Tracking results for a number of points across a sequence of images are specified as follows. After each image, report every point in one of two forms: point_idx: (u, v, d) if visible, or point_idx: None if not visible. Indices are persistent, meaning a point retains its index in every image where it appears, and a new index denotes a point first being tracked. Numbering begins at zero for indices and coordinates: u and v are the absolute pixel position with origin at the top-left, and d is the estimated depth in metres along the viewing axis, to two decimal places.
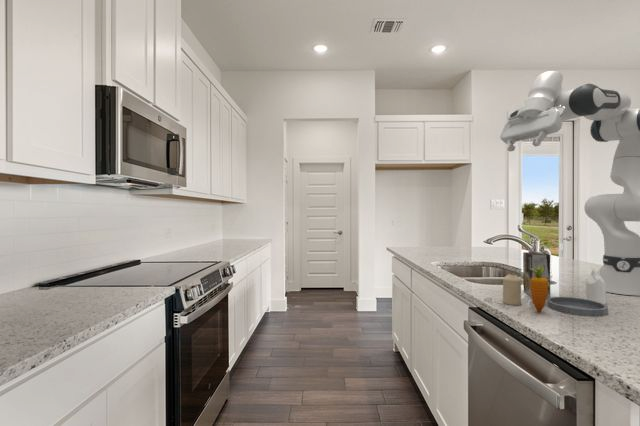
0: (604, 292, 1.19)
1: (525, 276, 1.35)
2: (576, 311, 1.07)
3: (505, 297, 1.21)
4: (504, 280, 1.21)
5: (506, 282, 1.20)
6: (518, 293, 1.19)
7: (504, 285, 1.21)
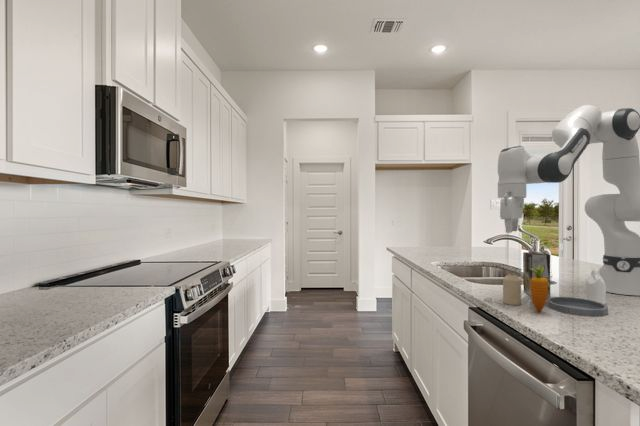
0: (604, 292, 1.19)
1: (525, 276, 1.35)
2: (576, 311, 1.07)
3: (505, 297, 1.21)
4: (504, 280, 1.21)
5: (506, 282, 1.20)
6: (518, 293, 1.19)
7: (504, 285, 1.21)
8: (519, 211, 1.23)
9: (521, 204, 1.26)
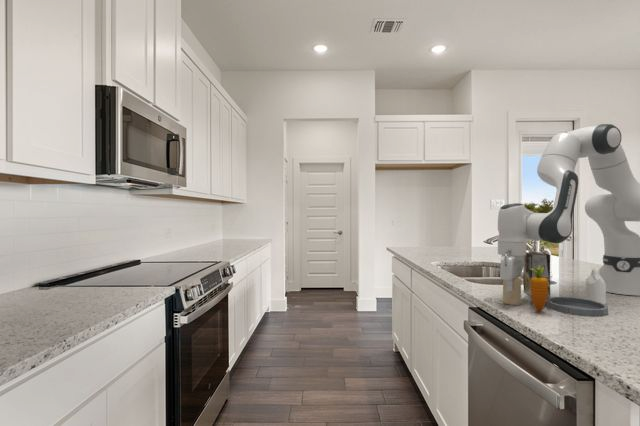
0: (604, 292, 1.19)
1: (525, 276, 1.35)
2: (576, 311, 1.07)
3: (505, 297, 1.21)
4: (504, 280, 1.21)
5: None
6: (518, 293, 1.19)
7: (504, 285, 1.21)
8: (519, 267, 1.23)
9: (521, 259, 1.26)
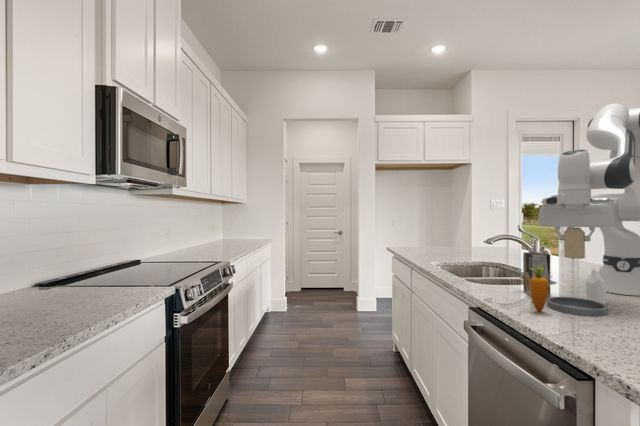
0: (604, 292, 1.19)
1: (525, 276, 1.35)
2: (576, 311, 1.07)
3: (582, 251, 1.11)
4: (580, 233, 1.11)
5: (583, 235, 1.12)
6: None
7: (580, 239, 1.11)
8: None
9: None
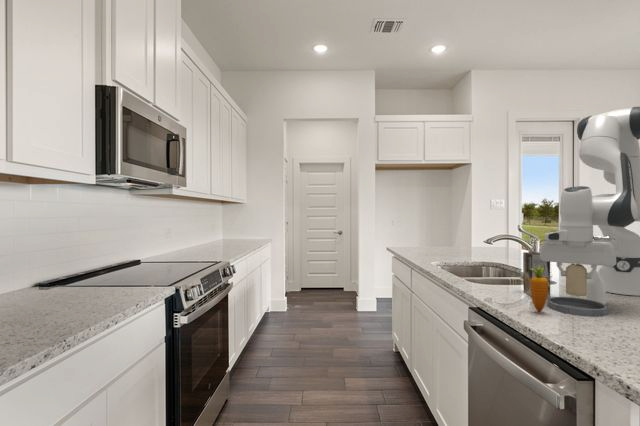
0: (604, 292, 1.19)
1: (525, 276, 1.35)
2: (576, 311, 1.07)
3: (584, 289, 1.11)
4: (582, 271, 1.11)
5: (585, 272, 1.11)
6: None
7: (582, 276, 1.11)
8: None
9: None
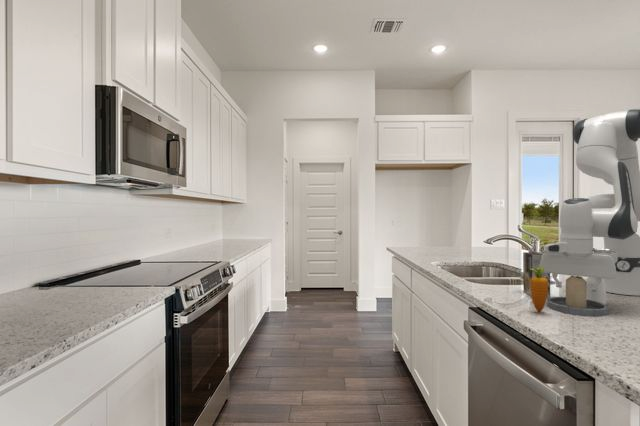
0: (604, 292, 1.19)
1: (525, 276, 1.35)
2: (576, 311, 1.07)
3: (584, 301, 1.11)
4: (582, 283, 1.11)
5: (585, 285, 1.11)
6: None
7: (582, 289, 1.11)
8: None
9: None
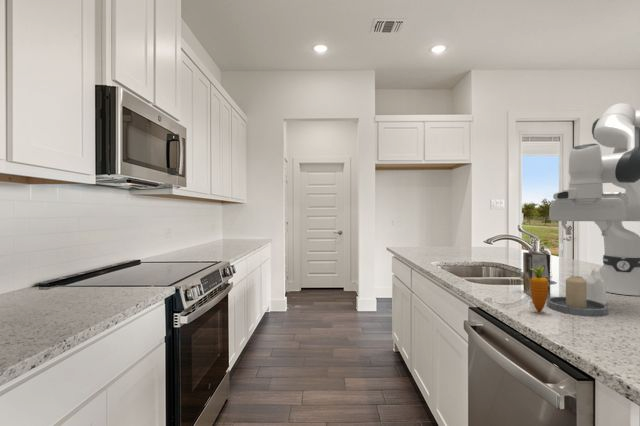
0: (604, 292, 1.19)
1: (525, 276, 1.35)
2: (576, 311, 1.07)
3: (584, 301, 1.11)
4: (582, 283, 1.11)
5: (585, 285, 1.11)
6: None
7: (582, 289, 1.11)
8: None
9: None
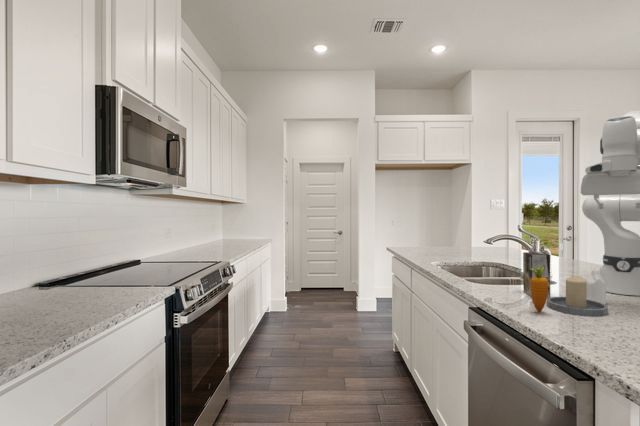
0: (604, 292, 1.19)
1: (525, 276, 1.35)
2: (576, 311, 1.07)
3: (584, 301, 1.11)
4: (582, 283, 1.11)
5: (584, 285, 1.11)
6: None
7: (582, 289, 1.11)
8: None
9: None
